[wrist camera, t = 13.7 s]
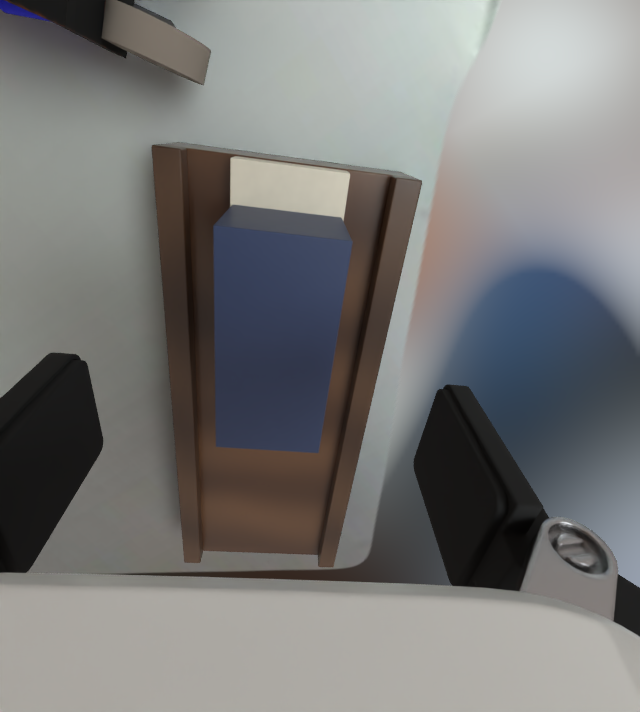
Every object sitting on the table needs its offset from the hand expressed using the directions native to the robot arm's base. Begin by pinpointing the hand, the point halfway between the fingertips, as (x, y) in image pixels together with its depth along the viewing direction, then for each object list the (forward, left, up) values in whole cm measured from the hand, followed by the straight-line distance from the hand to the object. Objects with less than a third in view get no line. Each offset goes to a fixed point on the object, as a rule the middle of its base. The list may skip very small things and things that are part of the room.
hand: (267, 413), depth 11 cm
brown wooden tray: (+8, +1, -14) cm, 16 cm away
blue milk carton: (+1, 0, -11) cm, 11 cm away
